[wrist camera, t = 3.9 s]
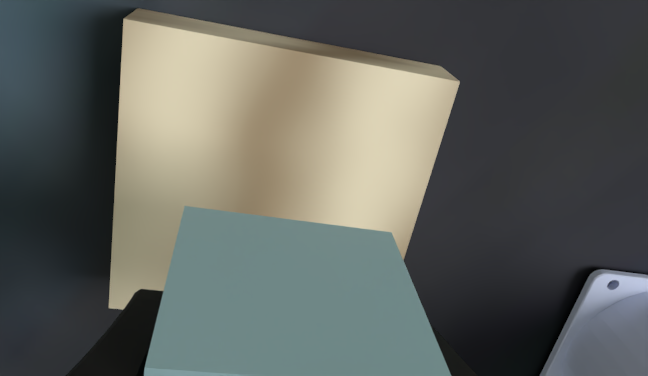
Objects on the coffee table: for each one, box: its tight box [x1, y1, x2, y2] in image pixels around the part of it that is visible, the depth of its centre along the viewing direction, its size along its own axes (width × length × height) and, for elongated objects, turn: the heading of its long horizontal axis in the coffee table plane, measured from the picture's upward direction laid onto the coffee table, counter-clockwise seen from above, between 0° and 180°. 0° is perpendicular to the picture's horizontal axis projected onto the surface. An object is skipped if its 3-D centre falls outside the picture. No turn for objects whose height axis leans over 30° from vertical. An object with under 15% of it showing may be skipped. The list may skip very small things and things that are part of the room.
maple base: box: [109, 8, 460, 310], centre depth 19 cm, size 10×10×2 cm
